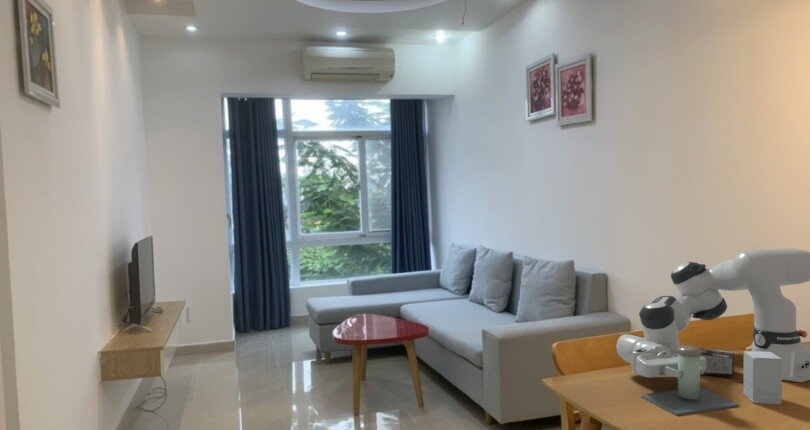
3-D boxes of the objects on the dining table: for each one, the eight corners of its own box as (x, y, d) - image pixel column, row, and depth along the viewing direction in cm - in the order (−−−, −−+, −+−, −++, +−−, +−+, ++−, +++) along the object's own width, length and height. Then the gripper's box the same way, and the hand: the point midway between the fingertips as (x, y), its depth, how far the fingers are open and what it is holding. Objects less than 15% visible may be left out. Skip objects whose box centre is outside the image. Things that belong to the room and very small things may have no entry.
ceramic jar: (689, 390, 166) (690, 344, 166) (705, 398, 161) (706, 350, 160) (671, 393, 165) (672, 346, 164) (687, 400, 159) (687, 352, 158)
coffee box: (675, 371, 189) (732, 379, 180) (675, 351, 188) (732, 358, 180) (679, 364, 196) (734, 371, 187) (679, 345, 196) (734, 351, 187)
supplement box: (782, 404, 159) (782, 358, 158) (752, 403, 161) (752, 357, 160) (771, 395, 166) (771, 351, 166) (742, 393, 168) (742, 350, 167)
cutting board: (699, 389, 172) (699, 387, 172) (738, 406, 159) (738, 403, 159) (641, 397, 167) (641, 395, 167) (676, 415, 153) (676, 413, 153)
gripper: (685, 365, 178) (721, 380, 165) (627, 373, 172) (660, 388, 159) (686, 345, 177) (722, 358, 164) (627, 351, 172) (660, 365, 159)
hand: (691, 373), depth 162 cm, fingers closed on ceramic jar, 5 cm apart
